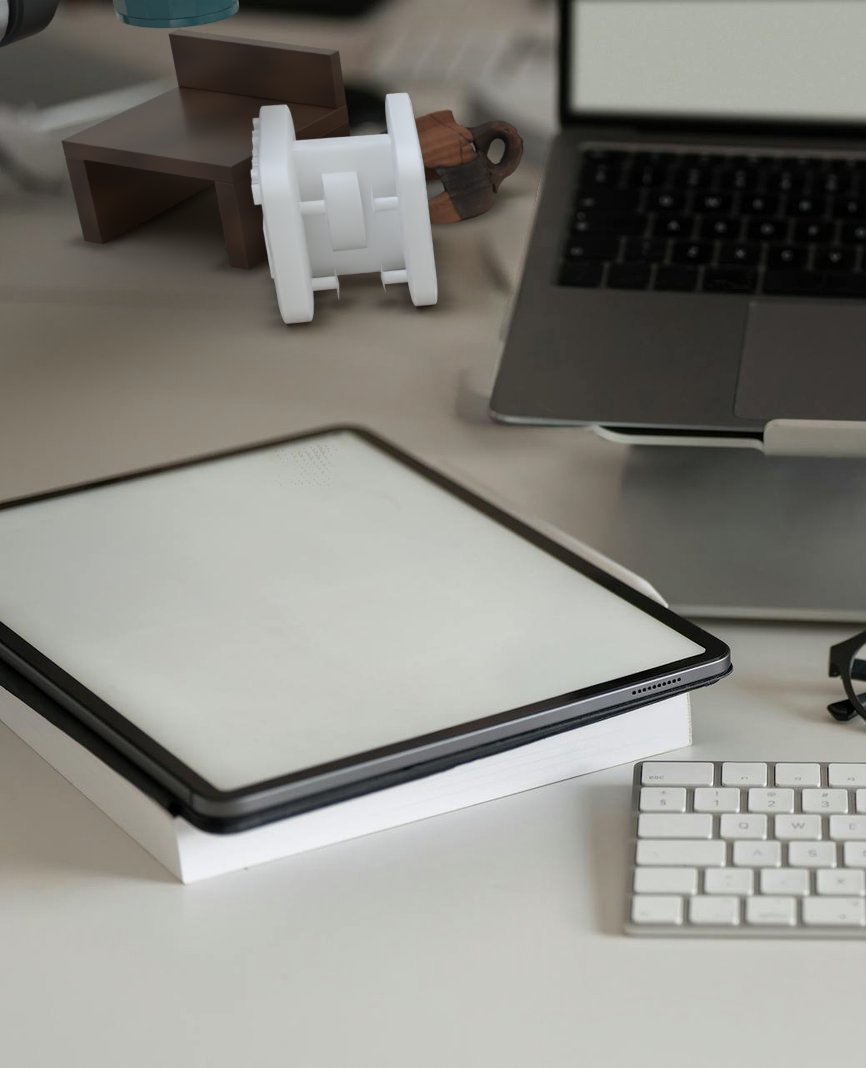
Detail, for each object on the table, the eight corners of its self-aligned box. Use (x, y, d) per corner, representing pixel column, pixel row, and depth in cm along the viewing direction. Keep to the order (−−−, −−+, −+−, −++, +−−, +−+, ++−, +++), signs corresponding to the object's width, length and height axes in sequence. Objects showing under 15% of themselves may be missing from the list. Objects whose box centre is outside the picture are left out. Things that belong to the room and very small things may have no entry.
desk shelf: (85, 247, 122) (47, 83, 116) (206, 182, 133) (178, 29, 127) (249, 277, 118) (220, 108, 112) (360, 207, 129) (339, 50, 123)
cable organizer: (443, 327, 112) (424, 157, 106) (277, 343, 110) (247, 171, 103) (427, 240, 124) (409, 83, 118) (277, 253, 122) (251, 94, 115)
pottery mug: (399, 247, 124) (351, 139, 123) (396, 255, 133) (350, 155, 132) (550, 185, 127) (504, 79, 125) (536, 197, 136) (493, 99, 134)
